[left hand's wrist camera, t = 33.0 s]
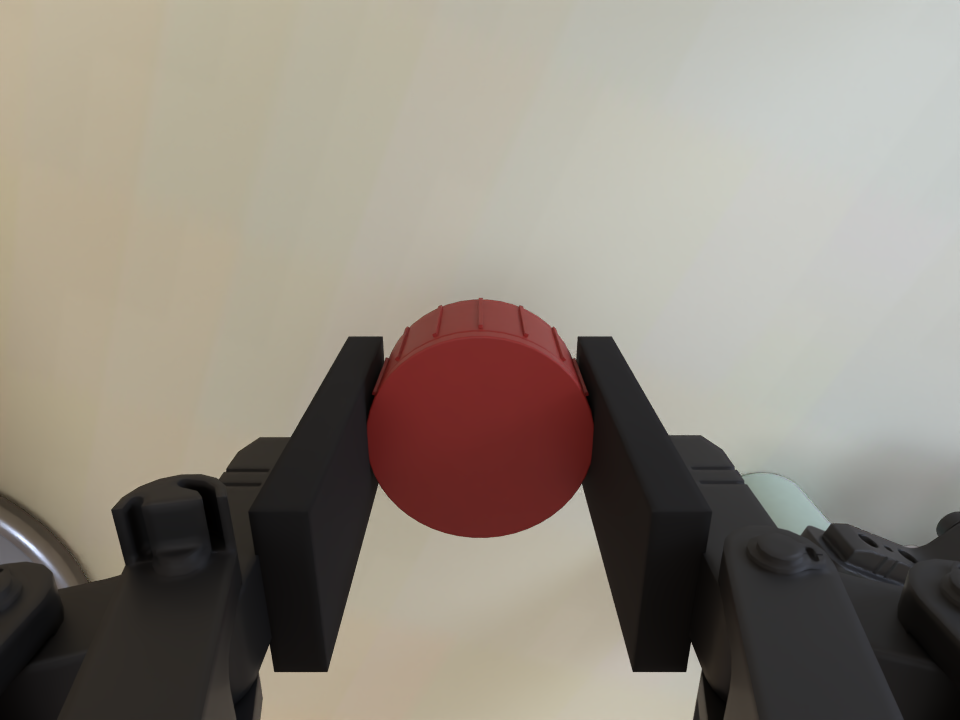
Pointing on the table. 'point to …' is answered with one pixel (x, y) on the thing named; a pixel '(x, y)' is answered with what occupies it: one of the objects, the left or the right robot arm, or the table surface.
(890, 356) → the table surface
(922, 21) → the table surface
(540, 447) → the cap
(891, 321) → the table surface
